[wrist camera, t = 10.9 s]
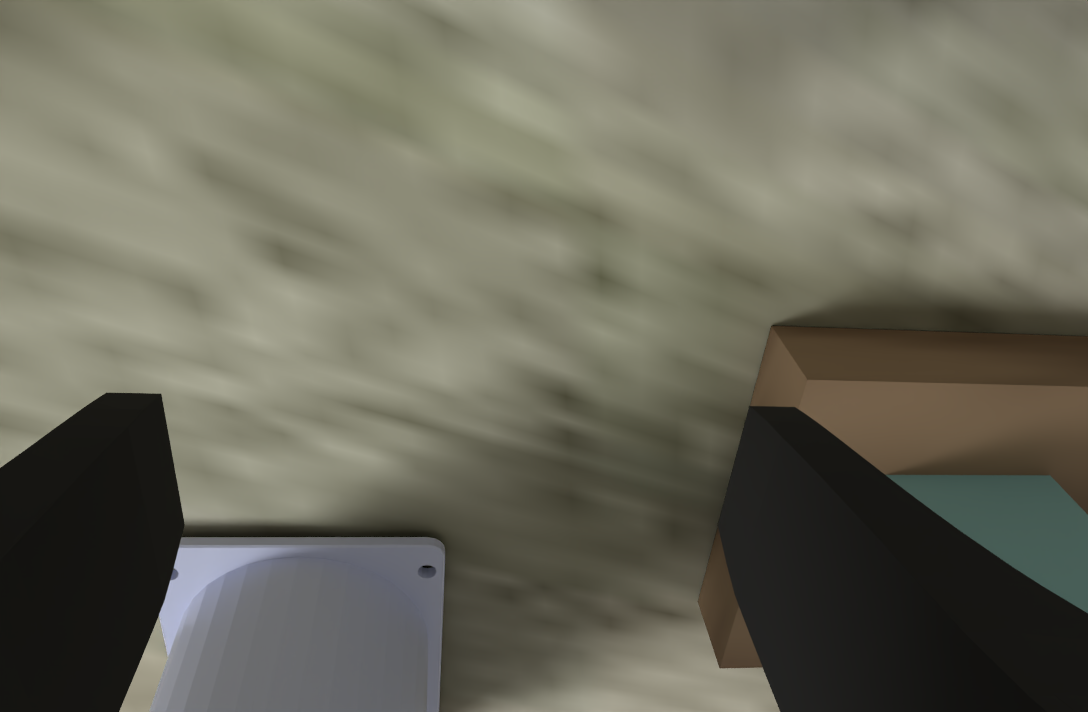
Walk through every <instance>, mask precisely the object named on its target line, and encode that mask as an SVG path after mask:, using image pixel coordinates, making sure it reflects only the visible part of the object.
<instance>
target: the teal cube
mask: <svg viewBox="0 0 1088 712" xmlns="http://www.w3.org/2000/svg"><path fill="white" fill-rule="evenodd" d="M886 476H887V477H889V478H890V479H891V480H893V481H894V482H895V483H897V484H898V485H899V486H900V487H902V488H903V489H904V490H906V491H907V492H908V493H910V494H911V495H912V496H914V497H915V498H916V499H918V500H919V501H920V502H922V503H923V504H924V505H926V506H927V507H928V508H930V509H931V510H932V511H934V512H935V513H936V514H938V515H939V516H941V517H942V518H943V519H945V520H946V521H947V522H949V523H950V524H952V525H953V526H954V527H956V528H957V529H958V530H960V531H961V532H963V533H964V534H966V535H967V536H968V537H970V538H971V539H973V540H974V541H976V542H977V543H979V544H980V545H982V546H983V547H984V548H986V549H987V550H989V551H990V552H992V553H993V554H995V555H996V556H998V557H999V558H1000V559H1002V560H1003V561H1005V562H1006V563H1008V564H1009V565H1011V566H1012V567H1014V568H1015V569H1017V570H1018V571H1020V572H1021V573H1023V574H1025V575H1026V576H1028V577H1029V578H1031V579H1032V580H1034V581H1035V582H1037V583H1039V584H1040V585H1042V586H1043V587H1045V588H1047V589H1048V590H1050V591H1052V592H1053V593H1055V594H1057V595H1058V596H1060V597H1062V598H1063V599H1065V600H1067V601H1068V602H1070V603H1072V604H1073V605H1075V606H1077V607H1078V608H1080V609H1082V610H1083V611H1085V612H1087V613H1088V515H1087V514H1086V512H1085V511H1084V510H1083V509H1082V508H1081V507H1080V506H1079V505H1078V504H1077V503H1076V502H1075V501H1074V500H1073V499H1072V498H1071V497H1070V496H1069V495H1068V494H1067V493H1066V491H1065V490H1064V489H1063V488H1062V487H1061V486H1060V485H1059V484H1058V483H1057V482H1056V481H1055V480H1054V479H1053V478H1052V477H1051V476H1050V475H886Z"/></svg>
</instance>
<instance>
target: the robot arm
mask: <svg viewBox="0 0 1088 712" xmlns="http://www.w3.org/2000/svg"><path fill="white" fill-rule="evenodd" d="M184 525H185V524H184V519H183V513H182V508H181V502H180V496H179V491H178V485H177V480H176V474H175V469H174V463H173V457H172V452H171V446H170V441H169V435H168V429H167V424H166V418H165V413H164V407H163V402H162V396H161V394H143V393H105V394H104V395H102V396H101V397H99V398H98V399H96V400H95V401H93V402H91V403H90V404H89V405H87V406H86V407H84V408H83V409H81V410H80V411H79V412H77V413H76V414H74V415H73V416H72V417H70V418H69V419H67V420H66V421H65V422H63V423H62V424H60V425H59V426H58V427H56V428H55V429H54V430H52V431H51V432H50V433H48V434H47V435H45V436H44V437H43V438H41V439H40V440H39V441H37V442H36V443H34V444H33V445H32V446H30V447H29V448H28V449H26V450H25V451H23V452H22V453H21V454H19V455H18V456H16V457H15V458H14V459H12V460H11V461H9V462H8V463H7V464H5V465H4V466H2V467H1V468H0V712H119V710H120V708H121V706H122V703H123V701H124V698H125V696H126V694H127V691H128V689H129V686H130V684H131V682H132V679H133V677H134V674H135V672H136V670H137V667H138V665H139V663H140V660H141V658H142V655H143V653H144V650H145V648H146V645H147V643H148V641H149V638H150V636H151V633H152V631H153V628H154V626H155V623H156V621H157V618H158V616H159V618H160V622H161V627H162V632H163V636H164V641H165V645H166V650H167V655H168V659H167V662H166V665H165V668H164V671H163V673H162V676H161V679H160V682H159V685H158V688H157V691H156V693H155V696H154V699H153V702H152V705H151V708H150V711H149V712H439V701H440V676H441V651H442V625H443V600H444V575H445V547H444V545H443V543H442V542H441V541H439V540H437V539H435V538H430V537H182V533H183V529H184ZM718 529H719V533H720V538H721V542H722V546H723V551H724V555H725V559H726V564H727V567H728V571H729V575H730V579H731V583H732V587H733V590H734V594H735V597H736V600H737V602H738V605H739V608H740V610H741V613H742V616H743V618H744V621H745V623H746V626H747V629H748V631H749V634H750V636H751V639H752V641H753V644H754V647H755V649H756V652H757V654H758V657H759V659H760V662H761V664H762V667H763V669H764V672H765V674H766V677H767V679H768V682H769V684H770V687H771V689H772V692H773V694H774V697H775V699H776V702H777V704H778V707H779V709H780V712H1088V613H1087V612H1085V611H1083V610H1082V609H1080V608H1078V607H1077V606H1075V605H1073V604H1072V603H1070V602H1068V601H1067V600H1065V599H1063V598H1062V597H1060V596H1058V595H1057V594H1055V593H1053V592H1052V591H1050V590H1048V589H1047V588H1045V587H1043V586H1042V585H1040V584H1039V583H1037V582H1035V581H1034V580H1032V579H1031V578H1029V577H1028V576H1026V575H1025V574H1023V573H1021V572H1020V571H1018V570H1017V569H1015V568H1014V567H1012V566H1011V565H1009V564H1008V563H1006V562H1005V561H1003V560H1002V559H1000V558H999V557H998V556H996V555H995V554H993V553H992V552H990V551H989V550H987V549H986V548H984V547H983V546H982V545H980V544H979V543H977V542H976V541H974V540H973V539H971V538H970V537H968V536H967V535H966V534H964V533H963V532H961V531H960V530H958V529H957V528H956V527H954V526H953V525H952V524H950V523H949V522H947V521H946V520H945V519H943V518H942V517H941V516H939V515H938V514H936V513H935V512H934V511H932V510H931V509H930V508H928V507H927V506H926V505H924V504H923V503H922V502H920V501H919V500H918V499H916V498H915V497H914V496H912V495H911V494H910V493H908V492H907V491H906V490H904V489H903V488H902V487H900V486H899V485H898V484H897V483H895V482H894V481H893V480H891V479H890V478H889V477H887V476H886V475H885V474H884V473H882V472H881V471H880V470H878V469H877V468H876V467H875V466H873V465H872V464H871V463H869V462H868V461H867V460H866V459H864V458H863V457H862V456H860V455H859V454H858V453H857V452H855V451H854V450H853V449H851V448H850V447H849V446H848V445H846V444H845V443H844V442H842V441H841V440H840V439H839V438H837V437H836V436H835V435H833V434H832V433H831V432H829V431H828V430H827V429H826V428H824V427H823V426H821V425H820V424H819V423H817V422H816V421H815V420H813V419H812V418H811V417H809V416H808V415H806V414H805V413H803V412H802V411H800V410H799V409H797V408H796V407H776V406H749V410H748V413H747V417H746V421H745V425H744V428H743V432H742V436H741V440H740V444H739V447H738V451H737V455H736V459H735V462H734V466H733V470H732V474H731V477H730V481H729V485H728V489H727V492H726V496H725V500H724V504H723V507H722V511H721V515H720V519H719V522H718ZM425 565H430V566H433V567H431V568H423V567H422V566H425ZM173 569H175V570H173Z"/></svg>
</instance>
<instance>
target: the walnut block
mask: <svg viewBox="0 0 1088 712" xmlns="http://www.w3.org/2000/svg"><path fill="white" fill-rule="evenodd" d="M750 406H776V407H796V408H797V409H799V410H800V411H802V412H803V413H805V414H806V415H808V416H809V417H811V418H812V419H813V420H815V421H816V422H817V423H819V424H820V425H821V426H823V427H824V428H826V429H827V430H828V431H829V432H831V433H832V434H833V435H835V436H836V437H837V438H839V439H840V440H841V441H842V442H844V443H845V444H846V445H848V446H849V447H850V448H851V449H853V450H854V451H855V452H857V453H858V454H859V455H860V456H862V457H863V458H864V459H866V460H867V461H868V462H869V463H871V464H872V465H873V466H875V467H876V468H877V469H878V470H880V471H881V472H882V473H884V474H885V475H1050V476H1051V477H1052V478H1053V479H1054V480H1055V481H1056V482H1057V483H1058V484H1059V485H1060V486H1061V487H1062V488H1063V489H1064V490H1065V491H1066V493H1067V494H1068V495H1069V496H1070V497H1071V498H1072V499H1073V500H1074V501H1075V502H1076V503H1077V504H1078V505H1079V506H1080V507H1081V508H1082V509H1083V510H1084V511H1085V512H1086V514H1087V515H1088V337H1087V336H1057V335H1028V334H998V333H968V332H939V331H909V330H879V329H850V328H820V327H790V326H771V329H770V333H769V337H768V340H767V344H766V348H765V352H764V355H763V359H762V363H761V367H760V370H759V374H758V378H757V382H756V385H755V389H754V393H753V397H752V400H751V404H750ZM698 603H699V606H700V610H701V613H702V616H703V619H704V622H705V625H706V628H707V631H708V634H709V637H710V640H711V643H712V646H713V649H714V652H715V655H716V658H717V662H718V665H719V668H754V667H762V664H761V662H760V659H759V657H758V654H757V652H756V649H755V647H754V644H753V641H752V639H751V636H750V634H749V631H748V629H747V626H746V623H745V621H744V618H743V616H742V613H741V610H740V608H739V605H738V602H737V600H736V597H735V594H734V590H733V587H732V583H731V579H730V575H729V571H728V567H727V564H726V559H725V555H724V551H723V546H722V542H721V538H720V533H719V529H718V528H717V532H716V536H715V539H714V543H713V547H712V551H711V554H710V558H709V562H708V566H707V569H706V573H705V577H704V581H703V584H702V588H701V592H700V596H699V599H698Z"/></svg>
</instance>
